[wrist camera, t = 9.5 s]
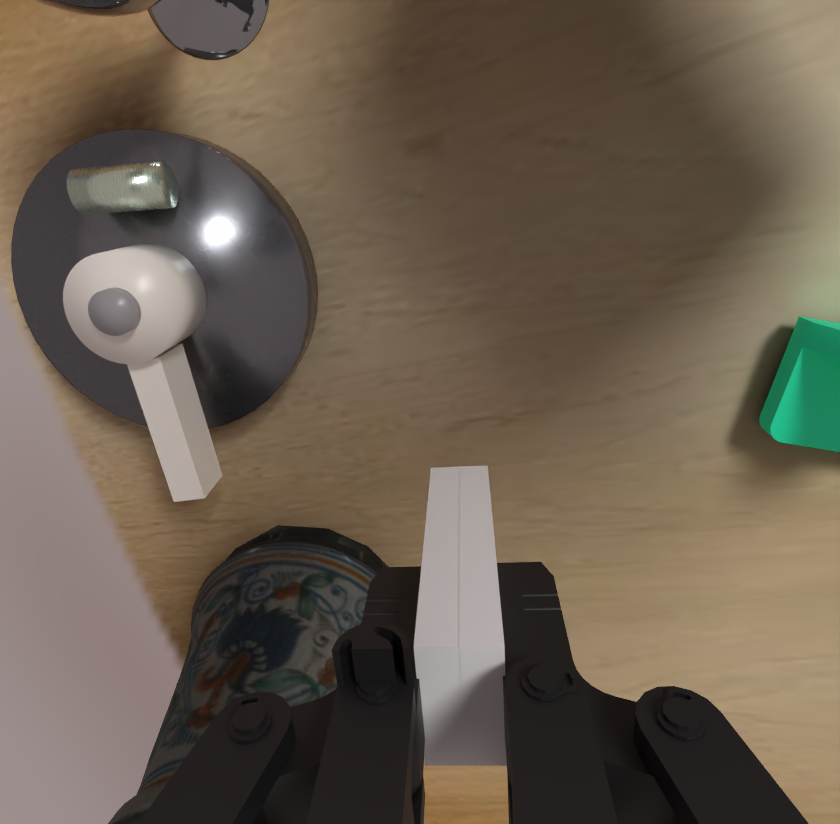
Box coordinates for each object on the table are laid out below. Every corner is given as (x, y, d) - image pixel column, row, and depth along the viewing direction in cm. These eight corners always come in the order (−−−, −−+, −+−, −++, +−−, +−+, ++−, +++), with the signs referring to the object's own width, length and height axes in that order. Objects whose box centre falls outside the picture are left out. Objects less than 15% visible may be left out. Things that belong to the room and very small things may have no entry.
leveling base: (5, 145, 37) (-66, 141, 32) (295, 119, 35) (268, 111, 30) (86, 419, 44) (37, 451, 39) (334, 407, 42) (317, 439, 37)
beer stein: (375, 498, 45) (284, 856, 21) (448, 695, 51) (439, 1132, 28) (174, 546, 47) (-102, 910, 24) (267, 727, 54) (121, 1151, 31)
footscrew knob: (93, 251, 36) (35, 263, 31) (189, 235, 35) (146, 245, 30) (169, 477, 41) (131, 518, 36) (255, 467, 40) (227, 507, 36)
